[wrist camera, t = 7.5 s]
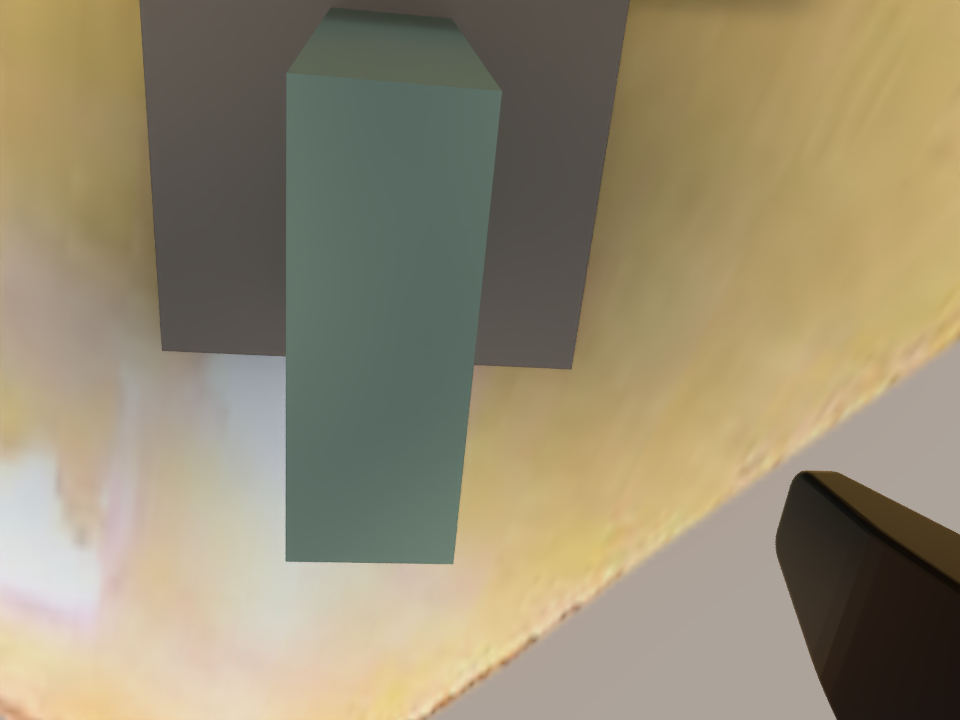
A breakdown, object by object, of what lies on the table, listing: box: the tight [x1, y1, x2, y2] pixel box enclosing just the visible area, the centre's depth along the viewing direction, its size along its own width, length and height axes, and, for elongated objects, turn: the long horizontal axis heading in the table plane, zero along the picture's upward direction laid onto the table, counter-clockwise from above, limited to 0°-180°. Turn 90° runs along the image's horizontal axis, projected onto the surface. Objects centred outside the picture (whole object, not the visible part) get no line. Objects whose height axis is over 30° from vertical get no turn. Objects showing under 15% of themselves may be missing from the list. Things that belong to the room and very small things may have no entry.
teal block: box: [286, 7, 502, 564], centre depth 16 cm, size 2×7×9 cm, turn 175°
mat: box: [140, 0, 630, 369], centre depth 20 cm, size 10×9×1 cm
